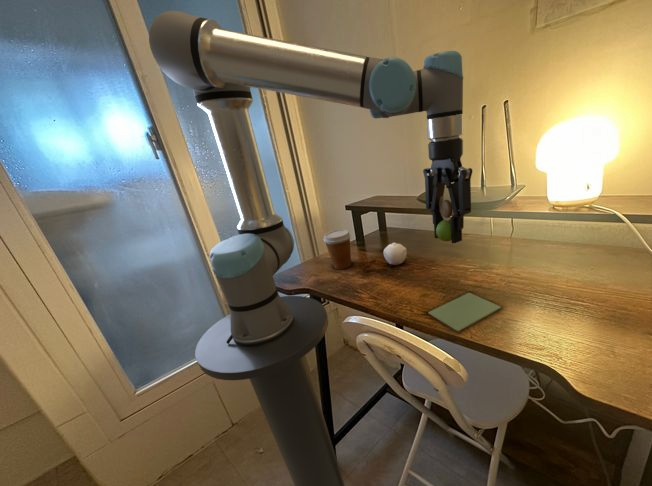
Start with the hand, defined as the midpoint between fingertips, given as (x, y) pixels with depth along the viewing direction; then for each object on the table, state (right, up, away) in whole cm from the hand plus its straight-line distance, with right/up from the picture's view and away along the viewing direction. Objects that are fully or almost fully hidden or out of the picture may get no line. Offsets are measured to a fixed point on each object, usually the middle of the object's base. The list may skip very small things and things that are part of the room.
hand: (447, 238), depth 77 cm
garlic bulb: (-11, -5, +27) cm, 30 cm away
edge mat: (+3, -18, -4) cm, 19 cm away
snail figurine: (0, 0, +1) cm, 1 cm away
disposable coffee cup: (-30, -5, +32) cm, 45 cm away
